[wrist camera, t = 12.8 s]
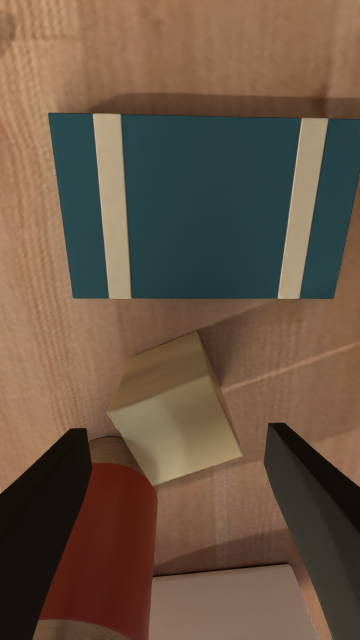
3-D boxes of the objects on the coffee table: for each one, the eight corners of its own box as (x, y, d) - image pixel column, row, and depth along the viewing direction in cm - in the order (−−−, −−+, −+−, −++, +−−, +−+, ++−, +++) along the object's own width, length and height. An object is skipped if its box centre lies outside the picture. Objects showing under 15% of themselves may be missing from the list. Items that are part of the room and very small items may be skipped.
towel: (324, 296, 13) (334, 298, 12) (79, 295, 12) (72, 298, 12) (357, 128, 11) (372, 118, 10) (56, 122, 10) (46, 111, 9)
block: (221, 388, 14) (244, 456, 10) (159, 411, 15) (152, 487, 10) (196, 330, 13) (209, 374, 8) (129, 356, 14) (105, 413, 9)
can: (160, 502, 17) (143, 813, 8) (75, 504, 17) (-49, 824, 8) (158, 435, 15) (133, 734, 6) (63, 436, 15) (-123, 746, 6)
